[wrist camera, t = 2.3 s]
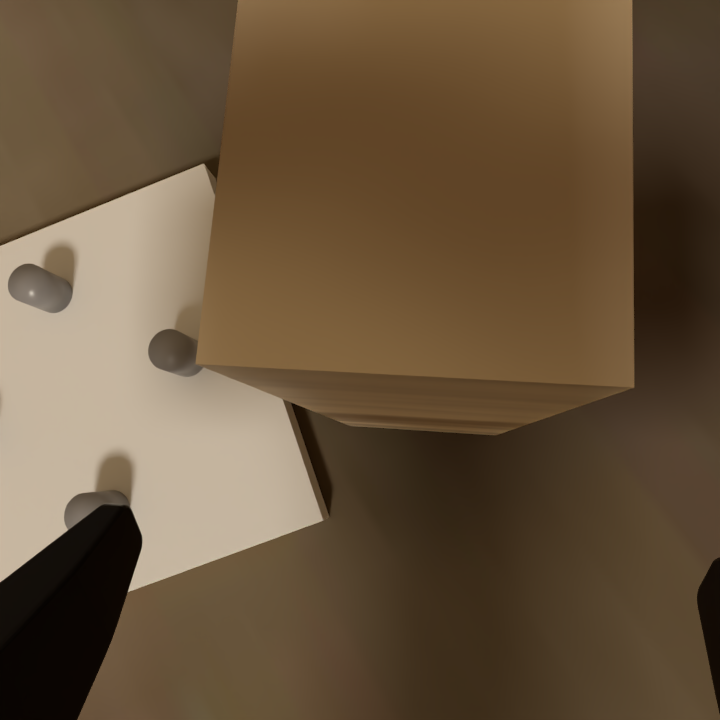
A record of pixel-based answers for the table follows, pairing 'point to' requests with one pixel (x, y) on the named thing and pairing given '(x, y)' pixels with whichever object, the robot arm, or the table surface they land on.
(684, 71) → the table surface
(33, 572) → the robot arm
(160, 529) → the stub base plate
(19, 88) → the table surface
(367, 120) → the maple block
